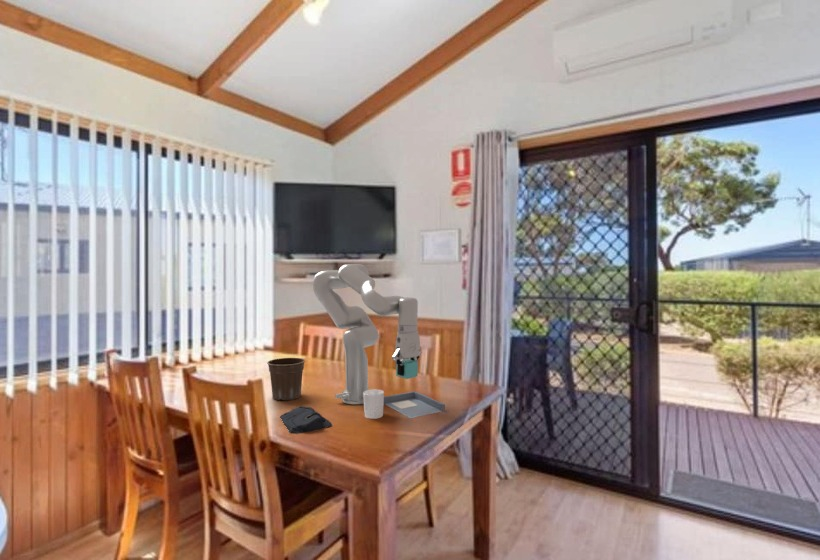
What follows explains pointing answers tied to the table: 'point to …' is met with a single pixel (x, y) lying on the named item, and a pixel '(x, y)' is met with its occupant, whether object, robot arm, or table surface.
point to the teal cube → (409, 369)
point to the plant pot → (286, 377)
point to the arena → (413, 404)
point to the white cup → (373, 403)
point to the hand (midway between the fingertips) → (406, 373)
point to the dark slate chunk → (304, 420)
